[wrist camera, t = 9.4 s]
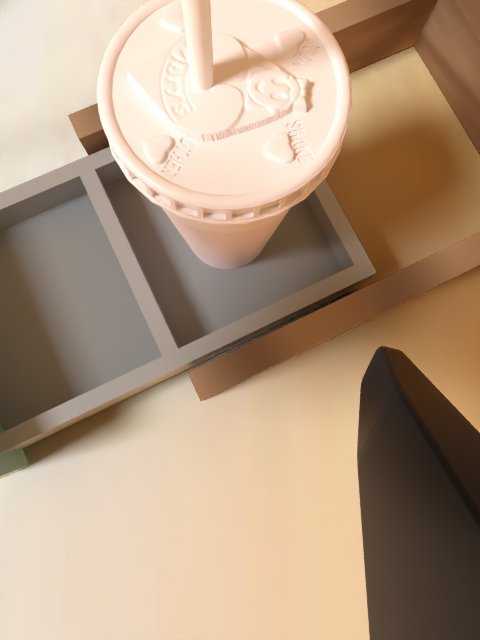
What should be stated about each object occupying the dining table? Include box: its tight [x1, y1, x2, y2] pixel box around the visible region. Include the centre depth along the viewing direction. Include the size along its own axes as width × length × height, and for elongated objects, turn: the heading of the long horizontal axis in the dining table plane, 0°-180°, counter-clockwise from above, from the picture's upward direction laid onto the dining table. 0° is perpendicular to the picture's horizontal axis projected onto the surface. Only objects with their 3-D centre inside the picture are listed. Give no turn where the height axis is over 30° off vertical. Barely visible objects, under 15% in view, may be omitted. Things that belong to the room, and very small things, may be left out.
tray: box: [0, 147, 377, 479], centre depth 18 cm, size 18×12×5 cm, turn 116°
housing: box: [68, 0, 480, 401], centre depth 20 cm, size 19×13×4 cm
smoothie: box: [97, 0, 352, 269], centre depth 13 cm, size 6×6×14 cm
